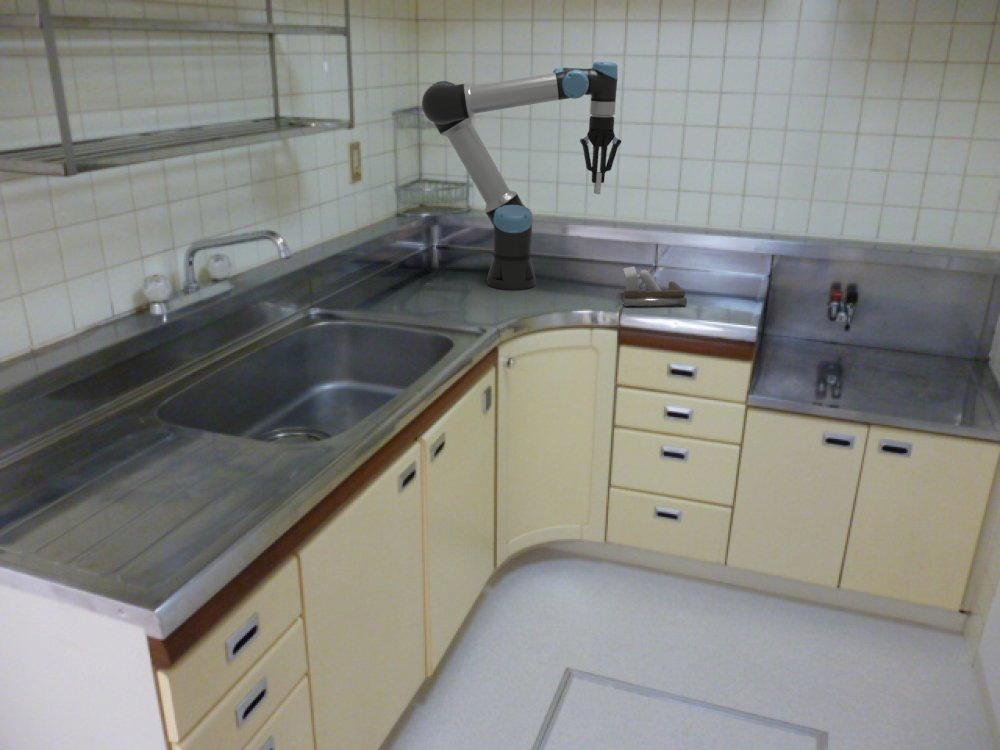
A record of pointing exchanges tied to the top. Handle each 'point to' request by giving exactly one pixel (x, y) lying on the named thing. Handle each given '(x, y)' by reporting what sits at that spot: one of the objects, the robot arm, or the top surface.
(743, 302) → the top surface
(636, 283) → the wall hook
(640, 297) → the hinge bracket
